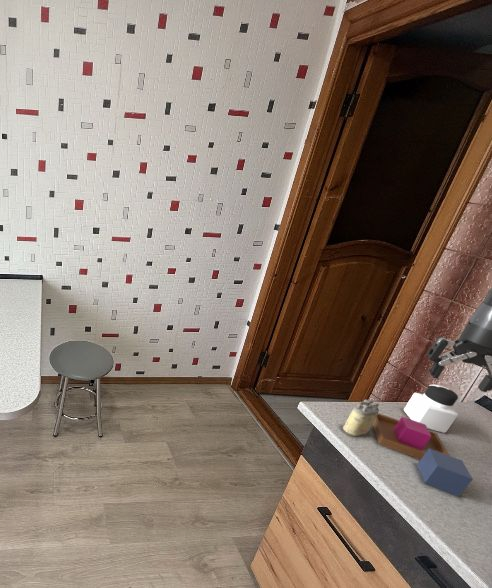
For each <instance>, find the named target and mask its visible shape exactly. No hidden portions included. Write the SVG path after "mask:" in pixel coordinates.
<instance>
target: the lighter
mask: <svg viewBox="0 0 492 588" xmlns="http://www.w3.org/2000/svg"><path fill="white" fill-rule="evenodd" d="M379 406H380V404H379V403H377V402H375V403H374V401H373V400H372V399H371V400H370V399H364V400H363V401H358V404H356V405H355V406H354V407H353V409H352V410H351V412H350V414H349V416H348V417H347V419H346V421H345V424H343V426H342V429H343V431H344V432H345V433H347V434H348V435H350V436H354V437H357V436H361V437H363V436H364V435H366V434H368V432H369V430H370V429H371V427H372V426H373V422H374V420H375V419H376V417H377V415H378V413H379V412H380V409H379V408H378V407H379Z"/></svg>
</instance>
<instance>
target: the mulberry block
mask: <svg viewBox="0 0 492 588" xmlns="http://www.w3.org/2000/svg"><path fill="white" fill-rule="evenodd" d="M398 420H399V422H398V423H397V425H396V426H395V428H394V429H393V430H394V433H395V435H396V438H397V440H398V442H401V443H404V444H406V445H409V446H412V447H415V448H417V449H420V450H422V449H423V448H424V447H425V445H426V444H427V442H428V441H429V439H430V438H431V437H432V436H431V434H430V432H429V431H430V430H429V429H427V427H426V425H425V424H422V423H420V422H417V421H414V420H411V419H410V418H409V417H408V418H407V417H405V416H401V417H400V418H399V419H398Z"/></svg>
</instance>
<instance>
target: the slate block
mask: <svg viewBox="0 0 492 588" xmlns="http://www.w3.org/2000/svg"><path fill="white" fill-rule="evenodd" d="M416 467H417V470H418V471H419V474H420V476H421V478H422V481H423V483H424V484H425V485H427V486H430V487H434V488H436V489H438V490H441V491H443V492H446V493H448V494H451V495H453V496H455V497H460V495H462V493H463V492H464V491H465V490H466V488H467V487H468V486H469V485H470V484H471V482H472V481H473V480H474V478H473V476H472V475H471V473H470V472H469V470H468V468H467V466H466V464H465V463H464V461H463V460H462V459H460V458H457V457H454V456H451V455H450V454H448V455H446V454H443V453H441V452H438V451H435V450H432V449H430V448H429V449H428V450H427V452H426V453H425V454H424V456H423V457H422V459H421V460H420V459H419V461H418V463H417V464H416Z"/></svg>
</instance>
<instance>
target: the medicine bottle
mask: <svg viewBox="0 0 492 588" xmlns="http://www.w3.org/2000/svg"><path fill="white" fill-rule="evenodd" d="M458 399H459V396H458V394H457V393H456V392H455V391H453V390H452V389H450V388H448V387H445V386H443V385H439V384H435V383H434V384H429V385H428V386H427V388H426V389H425V391H424V393H418V392H414V393H413V394H412V395H411V397H410V398H409V400H408V401H407V403H406V405H405V406H404V408H403V411H404V412H405V414H406V415H407V416H408V418H409V419H411V420H414V421H417V422H420V423H422V424H425V425H426V427H427V429H428V430H430V431H431V430H432V431H434V432H439V433H443V434H445V433H447V432H448V430H449V429H450V428H451V426H452V425H453V423H454V422H455V420H456V419H457V418H458V416H459V413H457V411H455V410H454V409H453V406H454V405H455V403H456V402H457V400H458Z"/></svg>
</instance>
